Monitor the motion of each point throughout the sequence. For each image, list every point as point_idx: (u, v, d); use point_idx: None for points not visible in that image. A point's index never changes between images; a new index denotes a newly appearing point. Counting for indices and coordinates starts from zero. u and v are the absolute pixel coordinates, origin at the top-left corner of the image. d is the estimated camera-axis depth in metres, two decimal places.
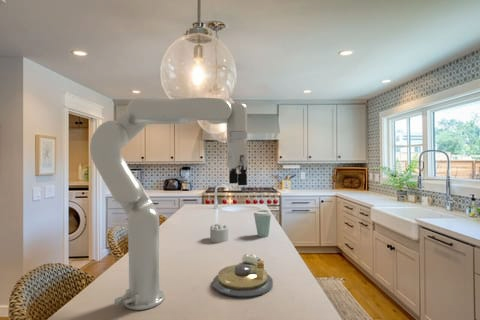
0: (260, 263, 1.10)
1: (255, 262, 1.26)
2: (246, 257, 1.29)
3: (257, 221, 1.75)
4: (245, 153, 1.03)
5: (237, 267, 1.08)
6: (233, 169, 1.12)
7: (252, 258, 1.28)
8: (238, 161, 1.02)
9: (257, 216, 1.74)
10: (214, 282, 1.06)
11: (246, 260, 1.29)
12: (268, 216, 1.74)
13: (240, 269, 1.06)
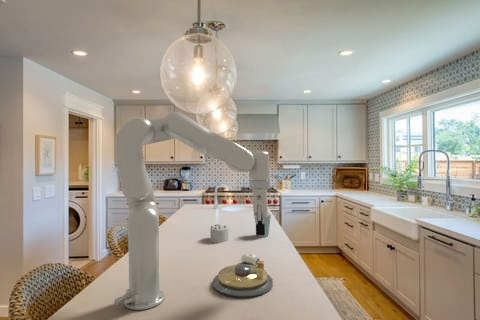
0: (260, 263, 1.10)
1: (254, 262, 1.26)
2: (245, 257, 1.30)
3: None
4: None
5: (237, 267, 1.08)
6: None
7: (251, 258, 1.28)
8: None
9: None
10: (214, 282, 1.06)
11: (245, 260, 1.29)
12: (268, 216, 1.74)
13: (240, 269, 1.06)
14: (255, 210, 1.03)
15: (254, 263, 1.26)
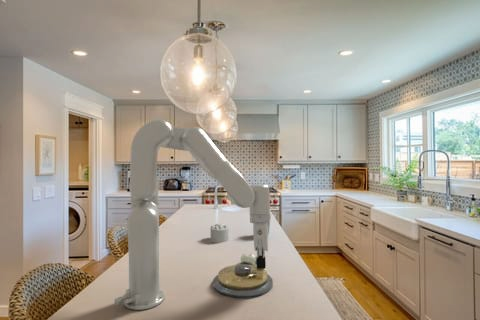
0: None
1: (253, 262, 1.26)
2: (245, 257, 1.30)
3: None
4: None
5: (237, 267, 1.08)
6: None
7: (250, 258, 1.28)
8: None
9: None
10: (214, 282, 1.06)
11: (245, 260, 1.29)
12: None
13: (240, 269, 1.06)
14: (256, 245, 1.03)
15: (253, 263, 1.26)
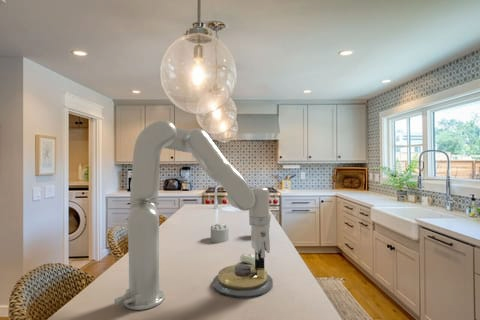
0: None
1: (253, 262, 1.26)
2: (244, 257, 1.30)
3: None
4: None
5: (237, 267, 1.08)
6: None
7: (250, 258, 1.28)
8: None
9: None
10: (214, 282, 1.06)
11: (244, 260, 1.29)
12: None
13: (240, 269, 1.06)
14: (259, 247, 1.04)
15: (253, 263, 1.26)
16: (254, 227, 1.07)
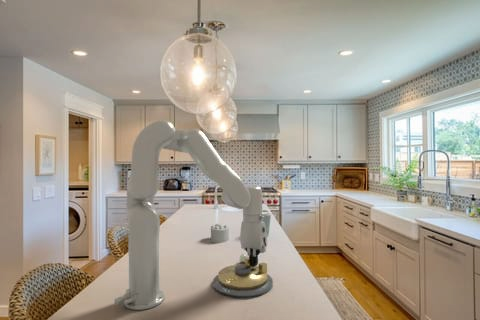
0: None
1: None
2: (243, 257, 1.30)
3: None
4: None
5: (238, 268, 1.07)
6: None
7: None
8: None
9: None
10: (214, 282, 1.06)
11: (243, 260, 1.29)
12: (268, 216, 1.74)
13: (244, 269, 1.06)
14: (262, 243, 1.09)
15: None
16: (253, 225, 1.10)
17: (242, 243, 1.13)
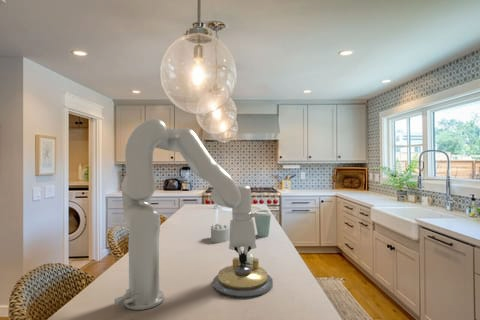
0: (238, 259, 1.15)
1: (251, 262, 1.26)
2: None
3: (257, 221, 1.75)
4: (230, 233, 1.13)
5: (241, 269, 1.06)
6: None
7: (249, 258, 1.28)
8: (229, 238, 1.16)
9: (257, 216, 1.74)
10: (214, 282, 1.06)
11: None
12: (268, 216, 1.74)
13: (247, 268, 1.07)
14: (255, 239, 1.13)
15: (251, 263, 1.26)
16: (247, 223, 1.12)
17: (233, 243, 1.12)
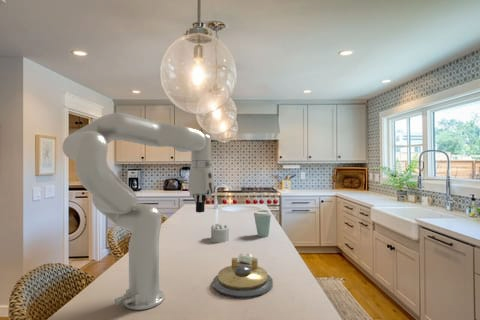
0: (237, 259, 1.15)
1: (251, 262, 1.26)
2: (242, 256, 1.30)
3: (257, 221, 1.75)
4: None
5: (241, 269, 1.06)
6: None
7: (248, 258, 1.28)
8: None
9: (257, 216, 1.74)
10: (214, 282, 1.06)
11: (242, 259, 1.30)
12: (268, 216, 1.74)
13: (247, 268, 1.07)
14: (207, 187, 1.11)
15: (251, 263, 1.26)
16: (200, 170, 1.12)
17: (190, 190, 1.16)
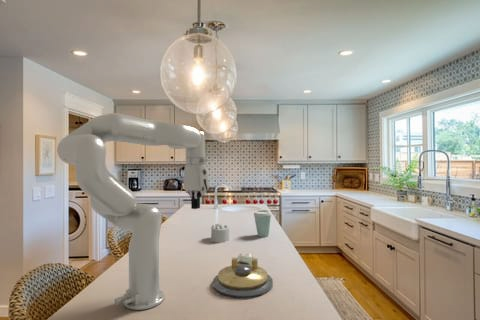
0: (237, 259, 1.15)
1: (250, 261, 1.26)
2: (241, 256, 1.30)
3: (257, 221, 1.75)
4: None
5: (241, 269, 1.06)
6: None
7: (247, 257, 1.28)
8: None
9: (257, 216, 1.74)
10: (214, 282, 1.06)
11: (241, 259, 1.30)
12: (268, 216, 1.74)
13: (247, 268, 1.07)
14: (202, 184, 1.11)
15: (250, 263, 1.26)
16: (194, 167, 1.12)
17: (185, 186, 1.16)
